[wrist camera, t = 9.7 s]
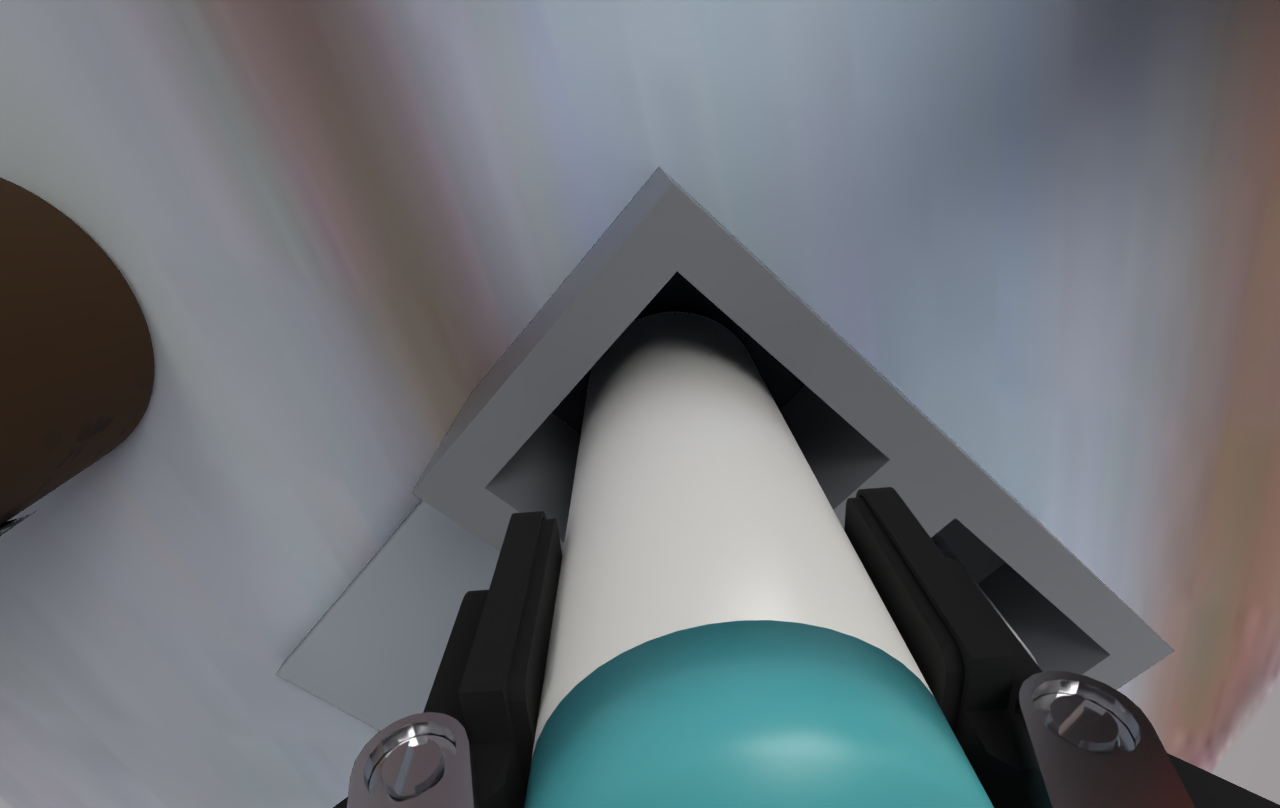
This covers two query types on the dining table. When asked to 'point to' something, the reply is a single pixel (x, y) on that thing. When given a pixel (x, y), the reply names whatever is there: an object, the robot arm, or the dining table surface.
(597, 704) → the cylinder
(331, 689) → the mat
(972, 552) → the housing
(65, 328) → the olive oil
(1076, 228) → the dining table surface
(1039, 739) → the robot arm
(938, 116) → the dining table surface
